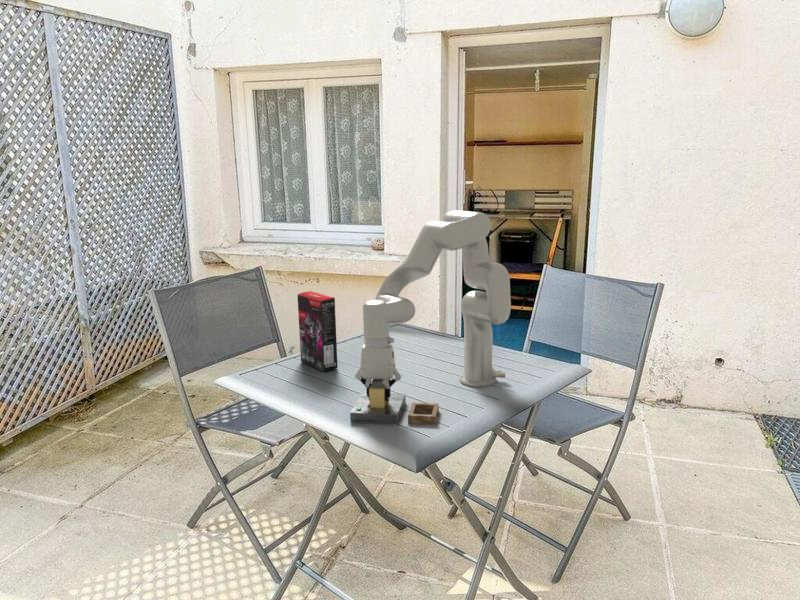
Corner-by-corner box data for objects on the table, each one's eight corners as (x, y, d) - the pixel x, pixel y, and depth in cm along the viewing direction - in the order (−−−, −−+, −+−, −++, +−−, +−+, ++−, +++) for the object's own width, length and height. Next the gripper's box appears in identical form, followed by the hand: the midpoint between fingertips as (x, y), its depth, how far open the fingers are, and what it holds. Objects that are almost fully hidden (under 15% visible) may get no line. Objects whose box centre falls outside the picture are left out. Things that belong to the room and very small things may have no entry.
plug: (387, 407, 185) (387, 376, 183) (384, 414, 180) (383, 383, 177) (374, 406, 186) (373, 376, 184) (369, 414, 180) (368, 382, 178)
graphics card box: (299, 362, 231) (295, 293, 225) (315, 358, 235) (311, 290, 229) (323, 373, 218) (320, 300, 212) (339, 368, 222) (336, 297, 216)
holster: (438, 411, 183) (438, 403, 182) (435, 424, 174) (435, 416, 173) (412, 410, 184) (412, 402, 184) (408, 423, 175) (407, 415, 174)
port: (405, 402, 190) (405, 392, 189) (397, 424, 174) (397, 413, 174) (362, 401, 192) (362, 391, 191) (350, 422, 177) (350, 411, 176)
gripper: (406, 338, 180) (407, 395, 184) (352, 337, 183) (354, 393, 187) (402, 346, 173) (404, 405, 177) (346, 344, 176) (348, 402, 180)
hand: (378, 398), depth 182 cm, fingers closed on plug, 4 cm apart
